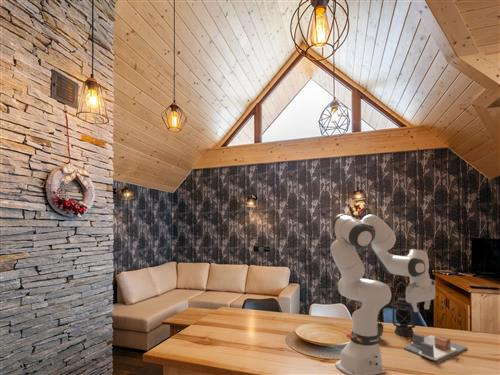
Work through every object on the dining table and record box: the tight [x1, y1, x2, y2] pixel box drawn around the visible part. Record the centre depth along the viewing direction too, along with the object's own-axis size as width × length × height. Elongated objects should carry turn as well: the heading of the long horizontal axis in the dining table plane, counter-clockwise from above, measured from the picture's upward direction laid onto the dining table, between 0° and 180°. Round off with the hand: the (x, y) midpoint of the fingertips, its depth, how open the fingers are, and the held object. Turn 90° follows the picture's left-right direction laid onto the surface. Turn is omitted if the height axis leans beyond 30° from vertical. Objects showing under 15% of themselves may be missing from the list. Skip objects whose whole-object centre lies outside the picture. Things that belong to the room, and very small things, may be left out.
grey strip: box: [410, 332, 436, 348], centre depth 156 cm, size 20×8×6 cm, turn 121°
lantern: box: [390, 281, 416, 338], centre depth 173 cm, size 12×11×30 cm
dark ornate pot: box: [377, 321, 384, 340], centre depth 165 cm, size 8×7×8 cm
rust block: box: [435, 335, 451, 351], centre depth 147 cm, size 5×5×5 cm
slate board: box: [403, 341, 468, 364], centre depth 150 cm, size 28×17×1 cm, turn 121°
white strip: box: [419, 342, 457, 361], centre depth 145 cm, size 20×8×6 cm, turn 121°
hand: (421, 310), depth 144 cm, fingers open, 8 cm apart
